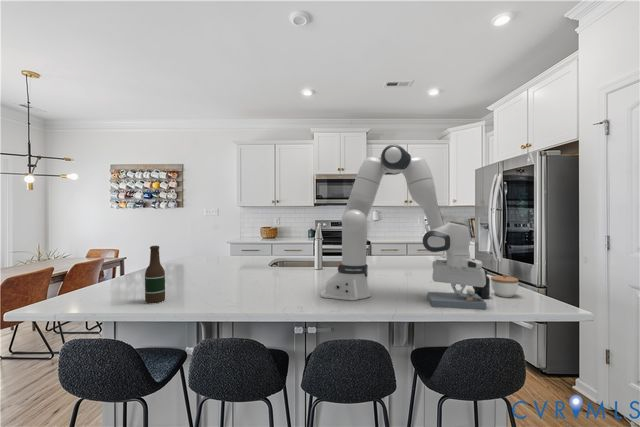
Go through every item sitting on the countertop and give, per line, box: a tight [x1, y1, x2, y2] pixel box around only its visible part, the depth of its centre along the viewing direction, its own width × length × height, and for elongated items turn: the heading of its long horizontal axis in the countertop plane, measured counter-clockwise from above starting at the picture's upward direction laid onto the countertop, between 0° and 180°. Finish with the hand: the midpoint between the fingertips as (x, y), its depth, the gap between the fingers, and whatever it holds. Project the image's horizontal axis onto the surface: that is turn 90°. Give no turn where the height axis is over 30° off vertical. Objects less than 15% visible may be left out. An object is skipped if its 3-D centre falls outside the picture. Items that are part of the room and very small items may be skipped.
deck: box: [427, 291, 487, 310], centre depth 133 cm, size 20×14×2 cm
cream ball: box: [466, 286, 475, 295], centre depth 136 cm, size 3×3×3 cm
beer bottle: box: [144, 245, 166, 304], centre depth 139 cm, size 8×8×24 cm
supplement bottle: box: [472, 269, 491, 300], centre depth 142 cm, size 7×7×12 cm
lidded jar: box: [490, 273, 520, 298], centre depth 145 cm, size 11×11×9 cm
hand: (458, 295), depth 132 cm, fingers closed
